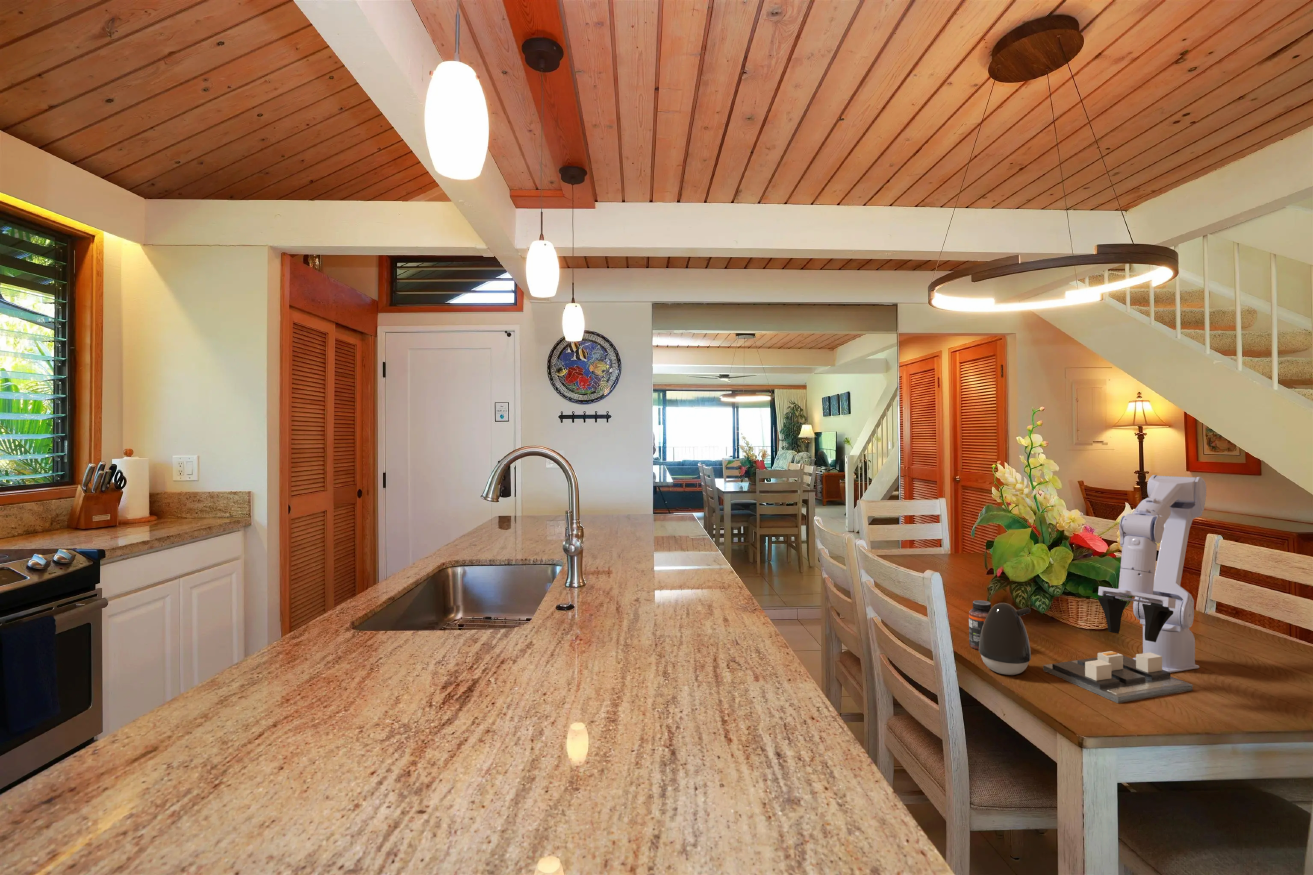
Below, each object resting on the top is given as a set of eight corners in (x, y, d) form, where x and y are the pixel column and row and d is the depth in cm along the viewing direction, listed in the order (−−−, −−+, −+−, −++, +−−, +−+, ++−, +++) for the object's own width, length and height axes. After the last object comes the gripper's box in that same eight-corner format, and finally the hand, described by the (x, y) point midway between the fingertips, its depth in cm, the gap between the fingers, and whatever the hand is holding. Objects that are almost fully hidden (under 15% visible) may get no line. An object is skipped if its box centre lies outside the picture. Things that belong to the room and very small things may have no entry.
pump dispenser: (1039, 681, 132) (1039, 611, 132) (987, 678, 134) (986, 608, 134) (1021, 663, 142) (1021, 597, 142) (973, 660, 144) (972, 596, 144)
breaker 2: (1150, 665, 134) (1150, 652, 134) (1162, 670, 131) (1162, 656, 131) (1136, 668, 133) (1136, 654, 133) (1147, 672, 130) (1147, 658, 130)
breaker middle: (1111, 664, 135) (1111, 650, 135) (1123, 668, 133) (1123, 654, 132) (1097, 666, 134) (1097, 652, 134) (1108, 671, 132) (1108, 656, 131)
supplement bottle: (996, 645, 154) (996, 600, 153) (996, 653, 148) (996, 606, 148) (969, 641, 156) (969, 597, 156) (968, 649, 151) (968, 603, 151)
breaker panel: (1112, 660, 143) (1112, 650, 143) (1192, 690, 127) (1192, 679, 127) (1043, 670, 138) (1043, 660, 138) (1117, 703, 122) (1117, 692, 121)
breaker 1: (1099, 673, 130) (1099, 659, 130) (1111, 678, 128) (1111, 663, 128) (1085, 675, 129) (1085, 661, 129) (1096, 680, 127) (1096, 666, 127)
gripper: (1090, 563, 135) (1083, 626, 134) (1159, 572, 121) (1153, 642, 120) (1114, 569, 137) (1108, 631, 135) (1185, 578, 123) (1180, 647, 121)
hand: (1131, 636), depth 128 cm, fingers open, 7 cm apart
